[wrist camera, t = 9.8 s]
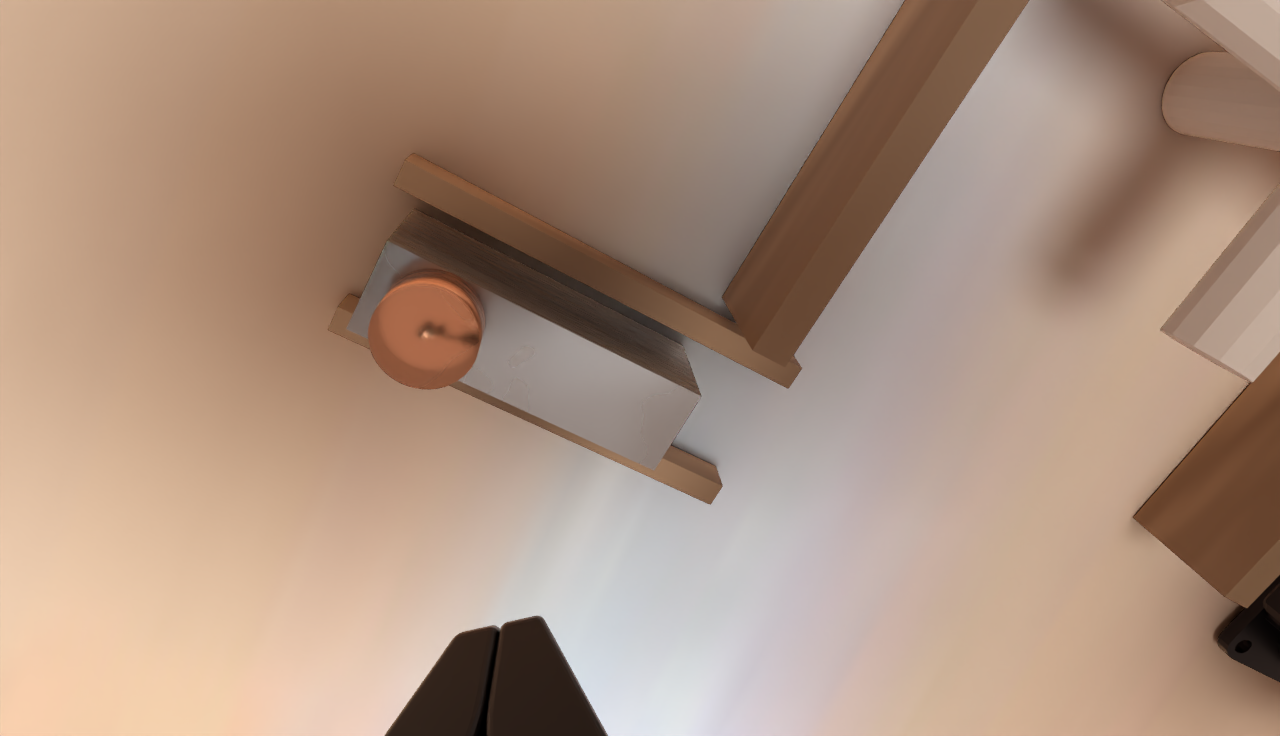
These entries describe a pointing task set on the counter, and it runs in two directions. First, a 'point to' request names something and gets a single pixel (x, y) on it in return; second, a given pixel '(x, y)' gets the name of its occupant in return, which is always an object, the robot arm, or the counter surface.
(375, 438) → the counter surface
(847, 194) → the dock cradle
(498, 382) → the pin
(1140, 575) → the counter surface
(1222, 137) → the pipe connector
